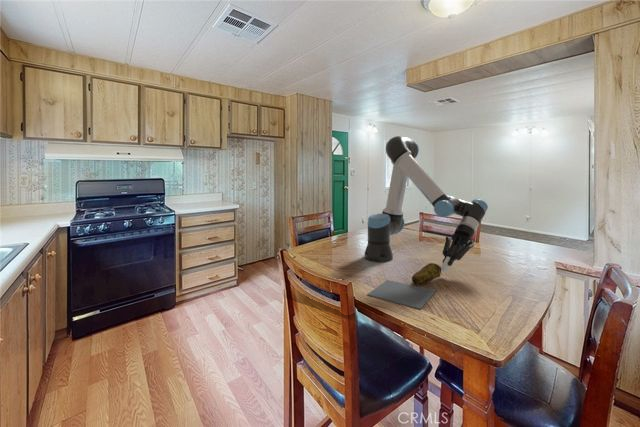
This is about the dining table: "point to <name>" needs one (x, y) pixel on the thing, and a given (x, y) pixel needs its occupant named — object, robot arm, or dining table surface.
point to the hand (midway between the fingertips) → (443, 270)
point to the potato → (427, 274)
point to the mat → (402, 294)
